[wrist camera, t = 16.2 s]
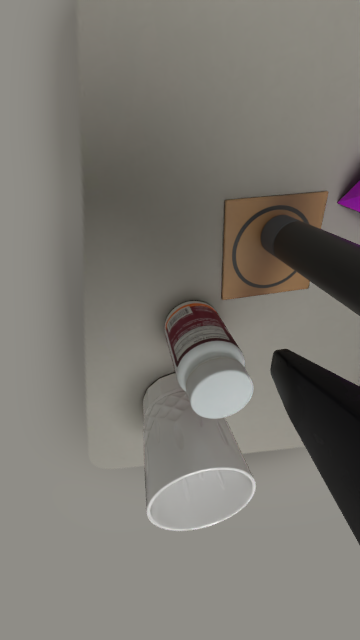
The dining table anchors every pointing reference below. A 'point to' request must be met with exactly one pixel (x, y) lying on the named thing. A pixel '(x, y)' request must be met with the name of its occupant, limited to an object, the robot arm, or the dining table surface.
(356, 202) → the crystal
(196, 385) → the pill bottle
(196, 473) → the white cup
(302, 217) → the square wooden coaster
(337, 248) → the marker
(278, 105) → the dining table surface
